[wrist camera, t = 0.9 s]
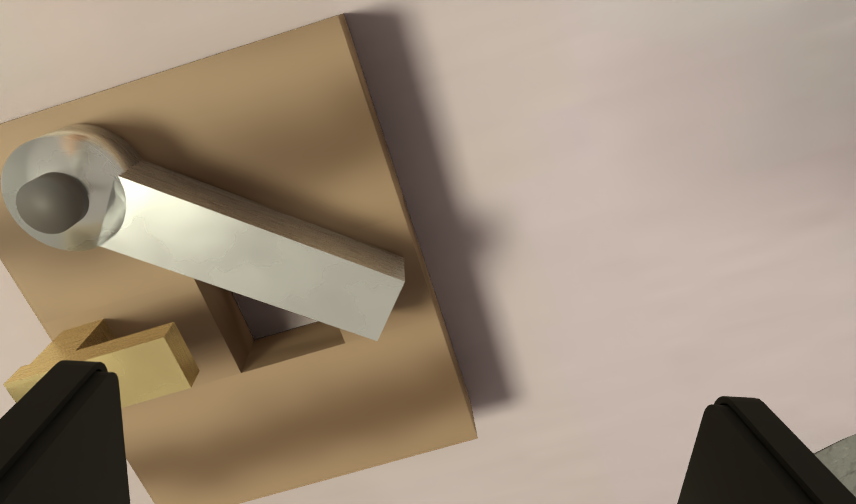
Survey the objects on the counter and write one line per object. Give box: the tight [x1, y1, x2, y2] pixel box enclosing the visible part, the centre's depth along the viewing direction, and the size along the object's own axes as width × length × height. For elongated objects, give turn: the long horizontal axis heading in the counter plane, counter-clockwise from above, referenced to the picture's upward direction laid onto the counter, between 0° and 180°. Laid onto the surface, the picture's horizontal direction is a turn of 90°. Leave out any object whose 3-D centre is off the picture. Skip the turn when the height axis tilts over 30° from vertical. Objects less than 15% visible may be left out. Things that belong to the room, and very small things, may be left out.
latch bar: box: [1, 124, 405, 341], centre depth 25 cm, size 15×4×2 cm, turn 66°
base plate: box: [0, 13, 477, 504], centre depth 27 cm, size 21×17×7 cm
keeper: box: [3, 319, 200, 408], centre depth 26 cm, size 2×7×4 cm, turn 106°
